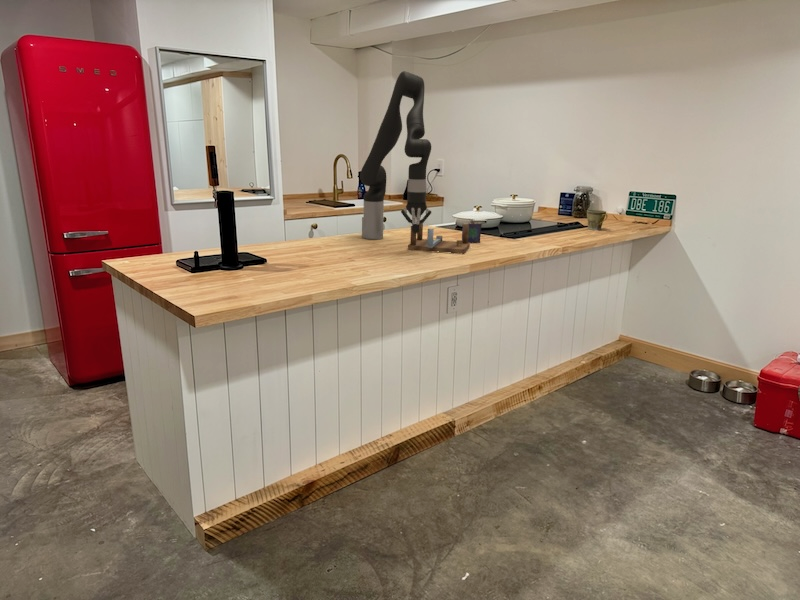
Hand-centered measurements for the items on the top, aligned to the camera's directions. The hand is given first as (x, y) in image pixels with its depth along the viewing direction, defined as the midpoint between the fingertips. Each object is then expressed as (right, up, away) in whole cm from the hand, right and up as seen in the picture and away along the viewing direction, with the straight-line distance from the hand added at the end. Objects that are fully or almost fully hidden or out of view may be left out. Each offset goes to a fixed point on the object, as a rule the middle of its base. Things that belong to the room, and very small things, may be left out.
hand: (415, 233), depth 231 cm
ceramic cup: (+99, +10, +70) cm, 121 cm away
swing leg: (+8, -4, +8) cm, 12 cm away
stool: (+10, -5, +11) cm, 16 cm away
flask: (+26, -1, +26) cm, 37 cm away
